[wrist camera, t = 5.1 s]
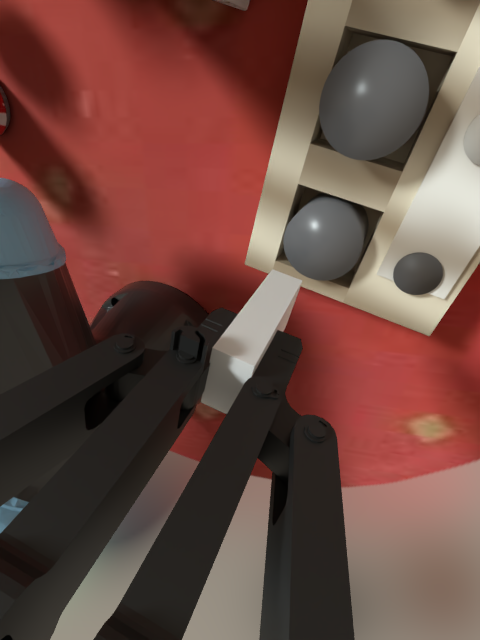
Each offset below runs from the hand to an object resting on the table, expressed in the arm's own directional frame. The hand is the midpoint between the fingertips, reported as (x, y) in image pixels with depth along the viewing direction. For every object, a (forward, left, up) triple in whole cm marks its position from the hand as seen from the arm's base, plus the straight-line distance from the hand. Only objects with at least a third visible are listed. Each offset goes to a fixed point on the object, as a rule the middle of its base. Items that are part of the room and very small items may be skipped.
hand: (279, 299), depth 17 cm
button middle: (+8, 0, -11) cm, 13 cm away
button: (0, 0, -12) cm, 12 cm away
